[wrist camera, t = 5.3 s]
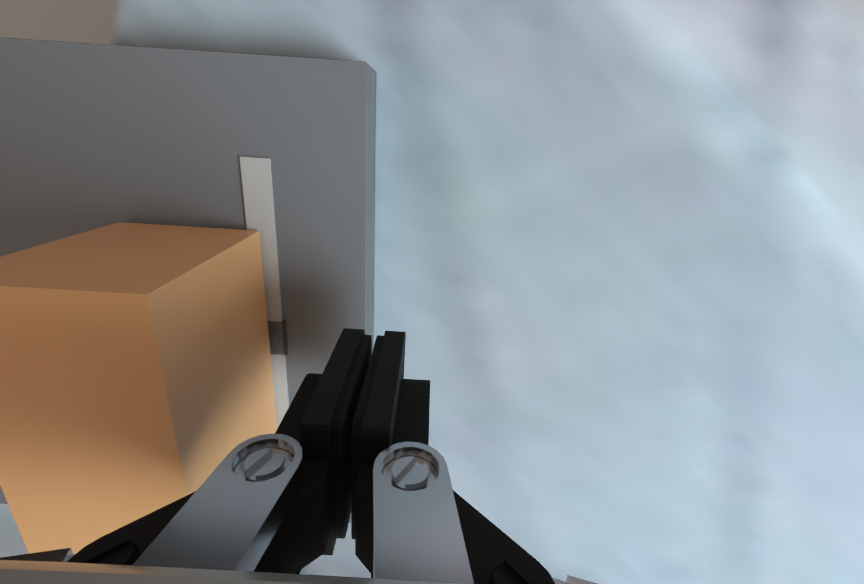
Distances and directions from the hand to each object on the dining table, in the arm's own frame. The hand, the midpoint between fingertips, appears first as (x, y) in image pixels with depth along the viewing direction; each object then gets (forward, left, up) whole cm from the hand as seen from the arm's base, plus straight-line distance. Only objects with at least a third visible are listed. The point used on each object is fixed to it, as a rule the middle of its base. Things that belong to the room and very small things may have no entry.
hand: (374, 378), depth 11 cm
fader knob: (+6, 0, -2) cm, 6 cm away
